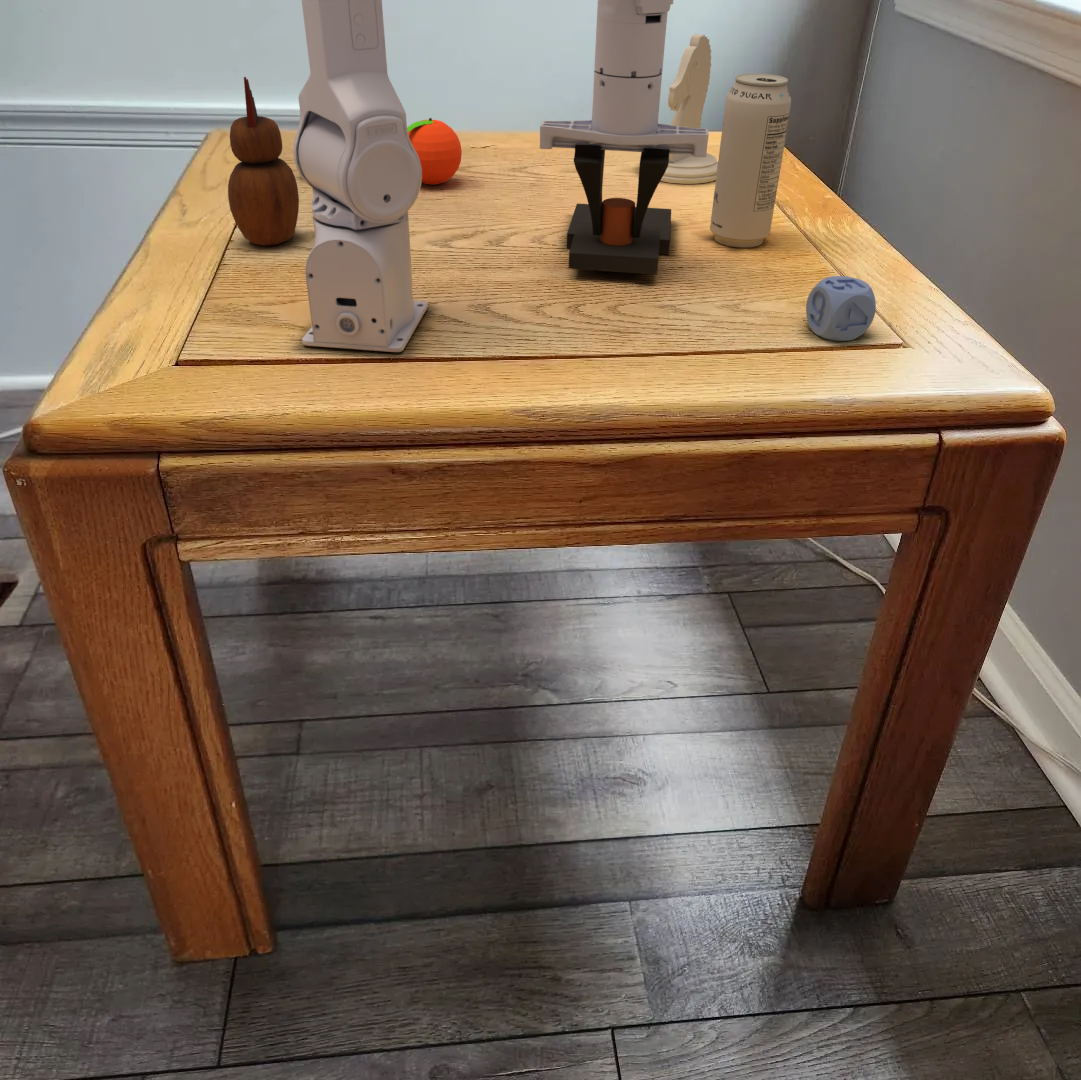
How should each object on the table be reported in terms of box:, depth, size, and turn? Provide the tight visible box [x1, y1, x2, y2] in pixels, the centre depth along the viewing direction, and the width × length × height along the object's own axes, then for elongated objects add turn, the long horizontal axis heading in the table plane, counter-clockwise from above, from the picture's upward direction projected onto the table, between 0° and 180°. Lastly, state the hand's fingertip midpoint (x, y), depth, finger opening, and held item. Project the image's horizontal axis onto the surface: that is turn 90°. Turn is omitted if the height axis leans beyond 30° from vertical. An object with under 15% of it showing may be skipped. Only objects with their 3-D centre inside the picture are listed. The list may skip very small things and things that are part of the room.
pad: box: [568, 197, 660, 275], centre depth 89 cm, size 11×8×5 cm
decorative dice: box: [805, 275, 877, 342], centre depth 77 cm, size 4×4×4 cm
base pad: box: [566, 202, 672, 256], centre depth 97 cm, size 10×10×2 cm
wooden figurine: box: [227, 76, 300, 247], centre depth 89 cm, size 7×6×15 cm
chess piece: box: [660, 33, 718, 185], centre depth 112 cm, size 10×10×15 cm
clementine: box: [407, 117, 463, 186], centre depth 108 cm, size 8×7×7 cm
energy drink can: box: [709, 73, 792, 249], centre depth 93 cm, size 6×6×15 cm
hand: (617, 233), depth 88 cm, fingers closed on pad, 3 cm apart
